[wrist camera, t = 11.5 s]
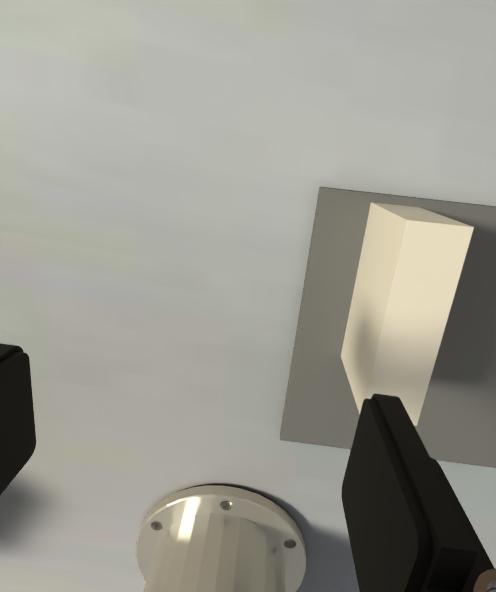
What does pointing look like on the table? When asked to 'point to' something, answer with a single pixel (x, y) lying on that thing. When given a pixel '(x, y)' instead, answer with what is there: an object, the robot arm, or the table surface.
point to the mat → (451, 355)
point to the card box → (402, 302)
